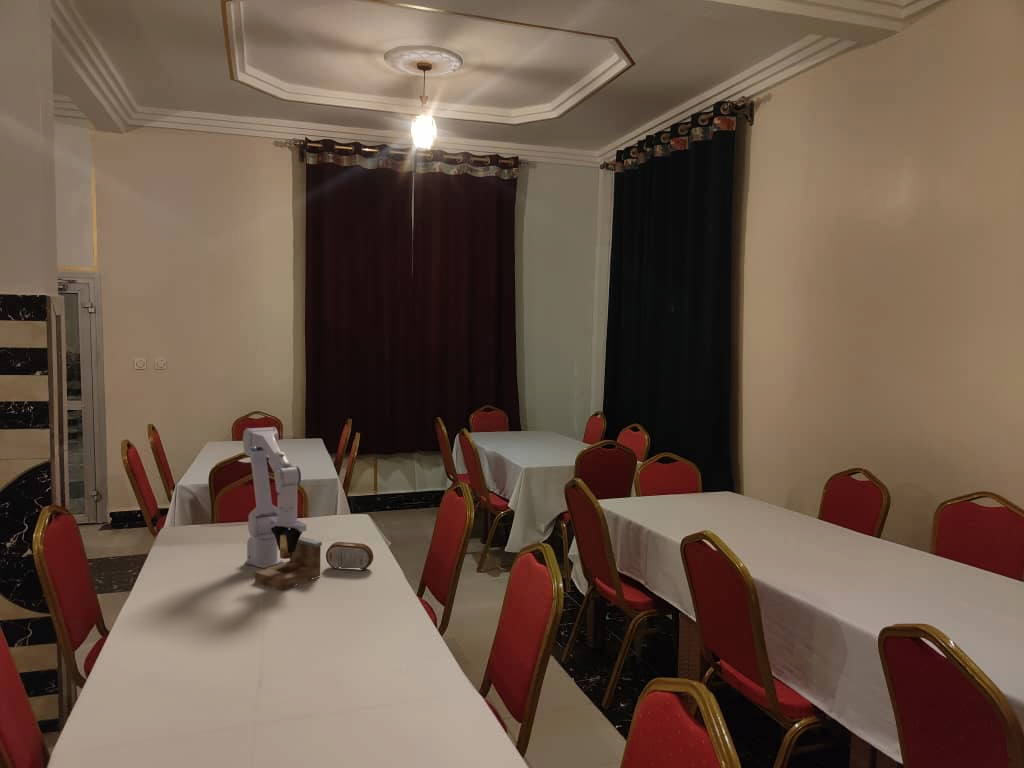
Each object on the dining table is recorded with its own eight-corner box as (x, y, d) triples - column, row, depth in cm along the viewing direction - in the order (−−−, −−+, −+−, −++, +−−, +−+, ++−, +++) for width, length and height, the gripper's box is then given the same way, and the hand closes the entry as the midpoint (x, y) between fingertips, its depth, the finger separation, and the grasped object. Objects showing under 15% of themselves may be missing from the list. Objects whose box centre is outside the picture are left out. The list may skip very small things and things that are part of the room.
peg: (277, 557, 213) (277, 534, 212) (287, 554, 216) (287, 531, 215) (284, 559, 211) (284, 536, 210) (295, 556, 214) (294, 534, 213)
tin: (373, 569, 226) (373, 543, 226) (370, 572, 223) (370, 546, 223) (327, 566, 228) (328, 540, 227) (324, 569, 225) (324, 543, 224)
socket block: (253, 581, 212) (254, 545, 211) (292, 568, 224) (292, 534, 223) (283, 590, 205) (284, 553, 204) (321, 576, 217) (321, 541, 217)
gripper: (260, 505, 213) (260, 549, 214) (293, 513, 205) (293, 558, 206) (279, 501, 219) (278, 544, 220) (312, 508, 211) (311, 552, 212)
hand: (286, 550), depth 213 cm, fingers closed on peg, 4 cm apart
